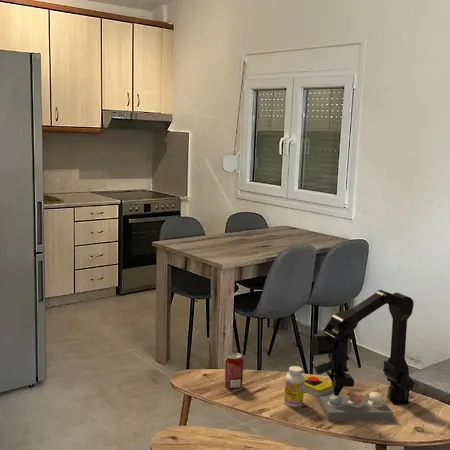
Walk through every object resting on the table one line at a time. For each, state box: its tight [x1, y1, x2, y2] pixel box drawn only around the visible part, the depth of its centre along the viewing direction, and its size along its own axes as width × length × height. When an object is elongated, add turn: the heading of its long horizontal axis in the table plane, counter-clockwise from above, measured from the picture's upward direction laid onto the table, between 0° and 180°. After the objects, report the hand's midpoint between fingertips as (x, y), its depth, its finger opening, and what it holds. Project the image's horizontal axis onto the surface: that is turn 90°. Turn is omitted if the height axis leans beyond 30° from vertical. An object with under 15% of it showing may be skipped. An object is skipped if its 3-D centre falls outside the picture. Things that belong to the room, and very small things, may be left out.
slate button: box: [329, 394, 343, 405], centre depth 199 cm, size 4×4×2 cm
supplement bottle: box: [283, 365, 305, 408], centre depth 205 cm, size 7×7×13 cm
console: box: [318, 395, 394, 422], centre depth 200 cm, size 22×12×3 cm, turn 95°
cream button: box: [369, 391, 384, 403], centre depth 200 cm, size 4×4×2 cm
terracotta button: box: [348, 391, 364, 403], centre depth 200 cm, size 4×4×2 cm
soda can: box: [223, 352, 244, 390], centre depth 217 cm, size 7×7×12 cm
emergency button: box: [304, 374, 334, 399], centre depth 218 cm, size 9×4×15 cm
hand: (335, 395), depth 199 cm, fingers closed
